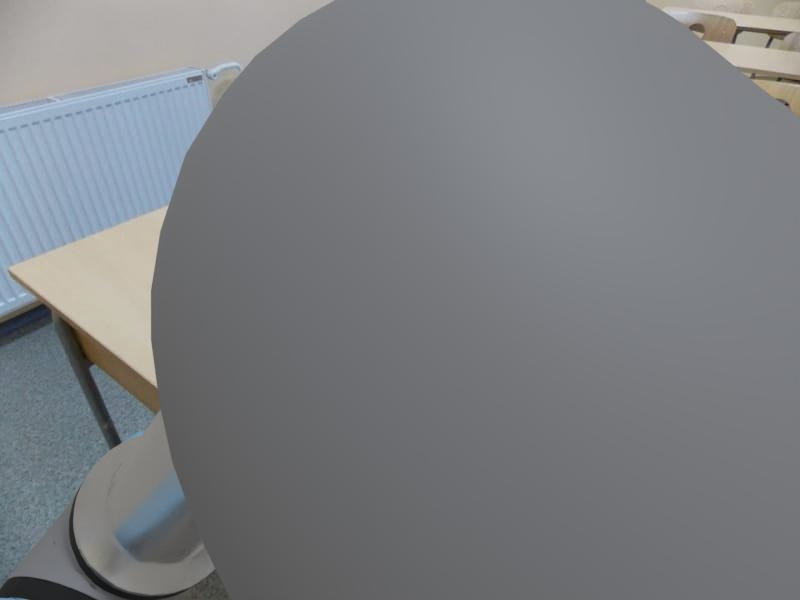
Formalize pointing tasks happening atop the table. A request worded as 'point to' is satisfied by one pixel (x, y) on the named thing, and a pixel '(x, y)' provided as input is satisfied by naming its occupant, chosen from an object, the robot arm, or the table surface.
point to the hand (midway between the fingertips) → (616, 386)
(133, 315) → the table surface
